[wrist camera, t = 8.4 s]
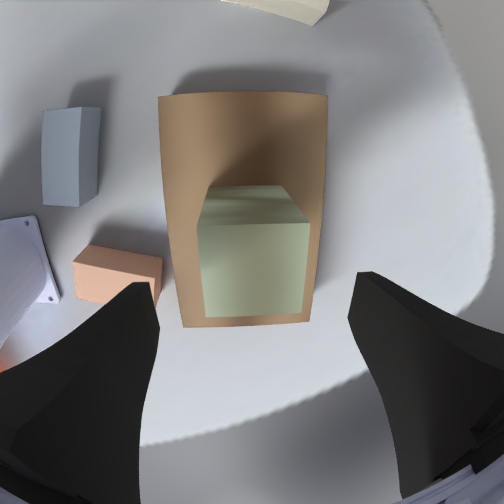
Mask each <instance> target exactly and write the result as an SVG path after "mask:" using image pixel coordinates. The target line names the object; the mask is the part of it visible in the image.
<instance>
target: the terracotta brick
mask: <svg viewBox="0 0 504 504" xmlns="http://www.w3.org/2000/svg"><path fill="white" fill-rule="evenodd" d="M162 267H163V258H161V257H155V256H149V255H144V254H138V253H133V252H127V251H122V250H117V249H111V248H106V247H101V246H95V245H90V244H89V245H88V246H87V247H86V248H85V249H84V250H83V251H82V252H81V253H80V254H79V255H78V256H77V257H76V258H75V259H74V261H73V273H74V282H75V290H76V297H77V298H79V299H83V300H87V301H91V302H95V303H99V304H103V305H105V304H106V303H108V302H109V301H110V300H111V299H112V298H113V297H115V296H116V295H117V294H118V293H119V292H120V291H122V290H123V289H124V288H125V287H127V286H128V285H129V284H131V283H132V282H149V283H150V288H151V292H152V297H153V301H154V306H155V308H156V305H157V302H158V299H159V296H160V293H161V280H162Z"/></svg>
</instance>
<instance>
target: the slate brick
mask: <svg viewBox="0 0 504 504" xmlns="http://www.w3.org/2000/svg"><path fill="white" fill-rule="evenodd" d="M101 111H102V107H75V108H65V109H56V110H48V111H43V119H42V137H41V177H42V196H43V205H55V206H72V207H80V206H82V205H83V204H85V203H86V202H87V201H89V200H90V199H92V198H93V197H95V196H96V195H98V151H99V134H100V121H101Z"/></svg>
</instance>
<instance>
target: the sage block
mask: <svg viewBox="0 0 504 504" xmlns="http://www.w3.org/2000/svg"><path fill="white" fill-rule="evenodd" d="M309 233H310V222H309V221H308V219H307V218H306V217H305V215H304V214H303V213H302V211H301V210H300V209H299V207H298V206H297V205H296V204H295V202H294V201H293V200H292V198H291V197H290V196H289V194H288V193H287V192H286V191H285V189H284V188H283V187H282V185H267V186H223V187H208V190H207V193H206V196H205V200H204V203H203V206H202V209H201V213H200V216H199V220H198V223H197V238H198V249H199V260H200V270H201V280H202V289H203V298H204V307H205V315H206V317H235V316H258V315H275V314H290V313H301V311H302V302H303V294H304V285H305V275H306V265H307V255H308V244H309Z"/></svg>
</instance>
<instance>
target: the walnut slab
mask: <svg viewBox="0 0 504 504" xmlns="http://www.w3.org/2000/svg"><path fill="white" fill-rule="evenodd" d="M158 109H159V135H160V153H161V167H162V180H163V191H164V201H165V211H166V220H167V228H168V236H169V244H170V251H171V258H172V265H173V272H174V278H175V284H176V290H177V296H178V302H179V307H180V313H181V318H182V323H183V328H197V327H234V326H255V325H272V324H287V323H299V322H309V320H310V314H311V307H312V299H313V292H314V284H315V276H316V268H317V259H318V250H319V240H320V230H321V219H322V207H323V193H324V178H325V161H326V138H327V95H320V94H309V93H296V92H276V91H221V92H202V93H189V94H178V95H169V96H160V97H158ZM267 185H282V187H283V188H284V189H285V191H286V192H287V193H288V194H289V196H290V197H291V198H292V200H293V201H294V202H295V204H296V205H297V206H298V207H299V209H300V210H301V211H302V213H303V214H304V215H305V217H306V218H307V219H308V221H309V222H310V233H309V244H308V255H307V265H306V275H305V285H304V294H303V302H302V311H301V313H290V314H275V315H258V316H235V317H206V315H205V307H204V298H203V289H202V280H201V270H200V260H199V249H198V238H197V223H198V220H199V216H200V213H201V209H202V206H203V203H204V200H205V196H206V193H207V190H208V187H223V186H267Z"/></svg>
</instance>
